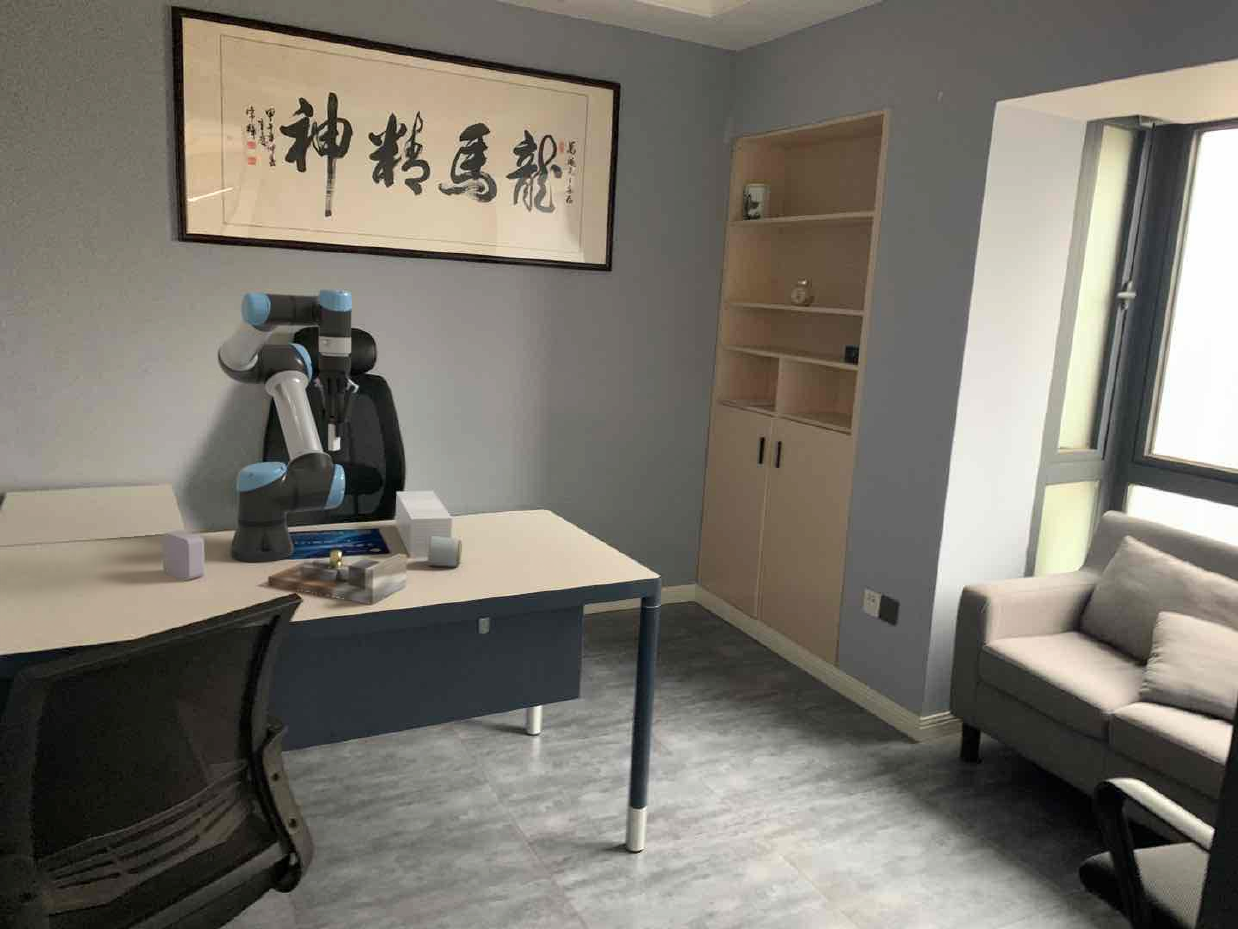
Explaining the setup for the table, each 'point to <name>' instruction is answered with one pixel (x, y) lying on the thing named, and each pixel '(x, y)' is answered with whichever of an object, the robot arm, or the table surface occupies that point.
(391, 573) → the lock board
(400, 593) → the table surface
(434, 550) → the ceramic mug
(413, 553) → the stack of papers
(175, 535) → the electronic device
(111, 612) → the table surface
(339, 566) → the bolt
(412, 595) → the table surface
